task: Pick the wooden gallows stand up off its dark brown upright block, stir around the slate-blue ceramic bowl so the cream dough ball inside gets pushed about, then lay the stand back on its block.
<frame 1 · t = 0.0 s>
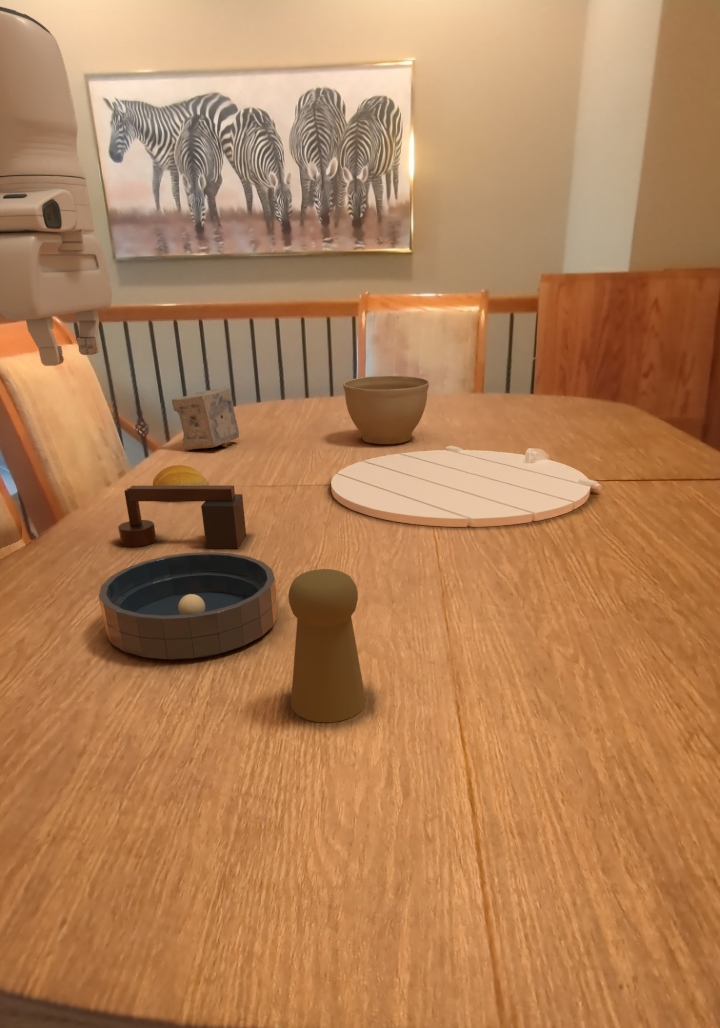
hand: (72, 359, 82), 23 cm above the table, tool pointing down, fingers open, 8 cm apart
lazy susan: (460, 487, 117), on the table
dough ball: (191, 607, 74), point 2 cm above the table, touching bowl
bowl: (194, 624, 74), on the table
dark brown upright block: (226, 541, 96), on the table
bread roll: (181, 494, 117), on the table
incense holder: (209, 447, 145), on the table
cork: (328, 704, 61), on the table
planter bowl: (386, 441, 147), on the table
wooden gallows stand: (138, 541, 97), on the table, touching dark brown upright block
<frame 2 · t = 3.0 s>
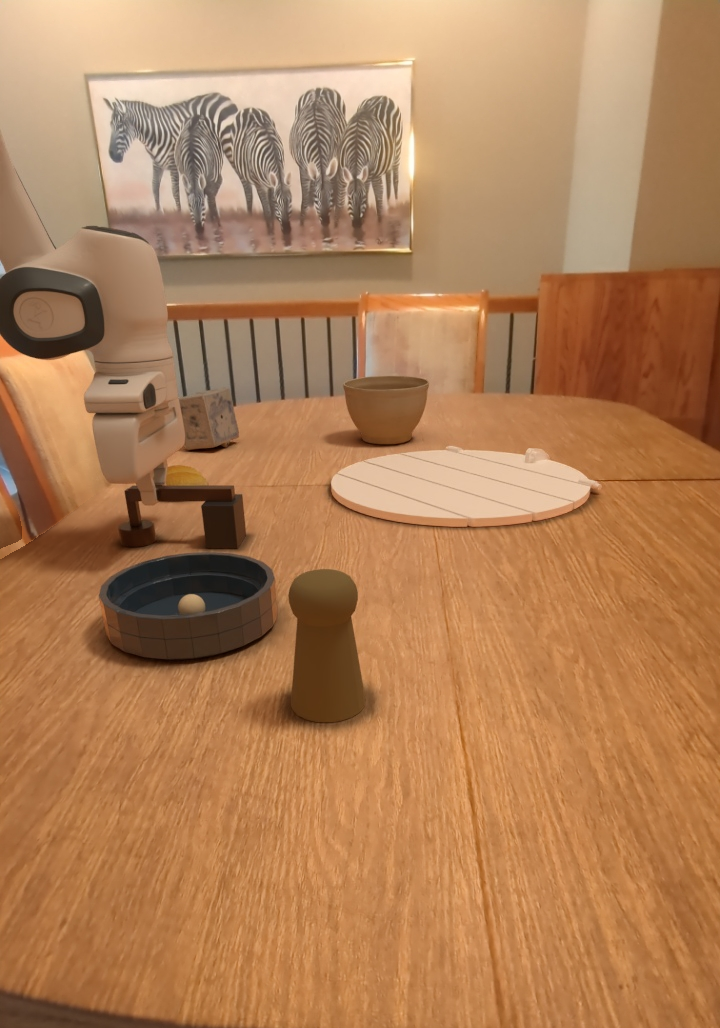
hand: (155, 500, 94), 5 cm above the table, tool pointing down, fingers closed on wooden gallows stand, 2 cm apart
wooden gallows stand: (138, 541, 97), on the table, touching gripper, dark brown upright block
everything else where it was.
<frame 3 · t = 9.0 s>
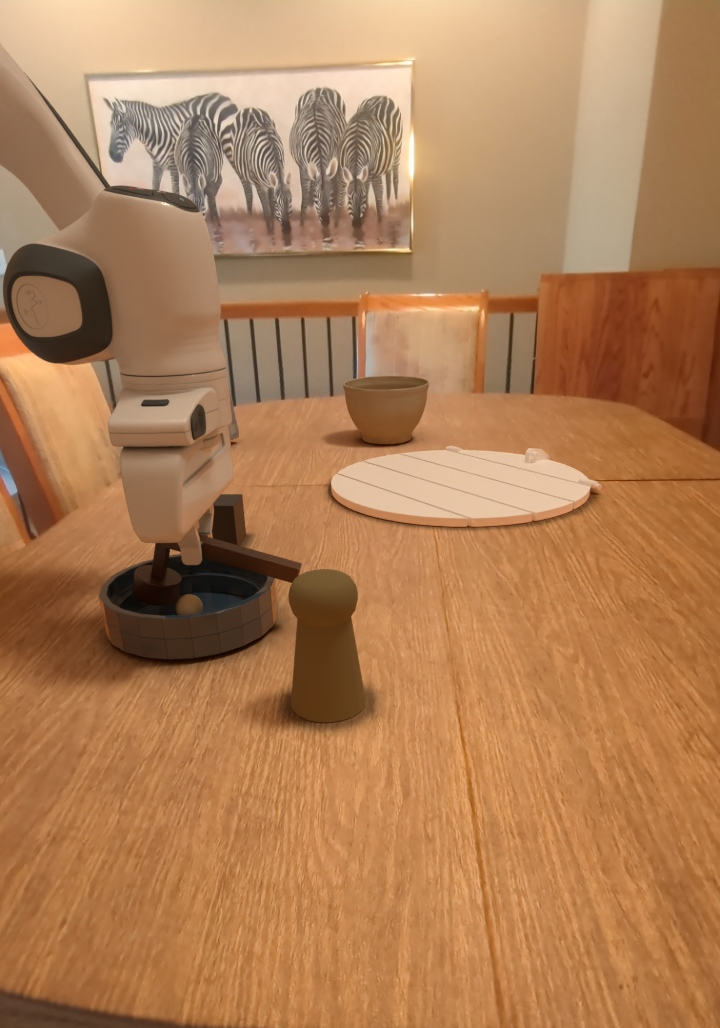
hand: (198, 556, 71), 7 cm above the table, tool pointing down, fingers closed on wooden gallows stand, 2 cm apart
dough ball: (189, 607, 74), point 2 cm above the table, tilted 10°, touching bowl, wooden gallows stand
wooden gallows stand: (155, 595, 73), point 3 cm above the table, tilted 16°, touching dough ball, gripper
everything else where it was.
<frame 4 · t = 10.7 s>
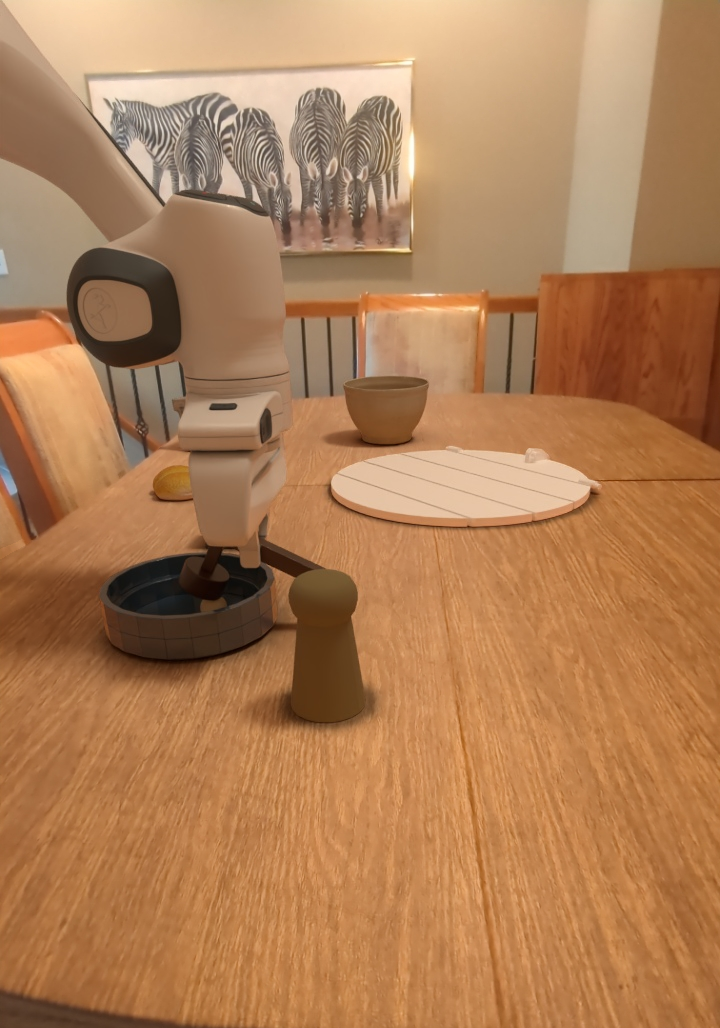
hand: (255, 559, 71), 7 cm above the table, tool pointing down, fingers closed on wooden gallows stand, 2 cm apart
dough ball: (213, 607, 74), point 2 cm above the table, tilted 96°, touching bowl, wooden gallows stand
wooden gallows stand: (200, 587, 73), point 4 cm above the table, tilted 27°, touching dough ball, gripper
everything else where it was.
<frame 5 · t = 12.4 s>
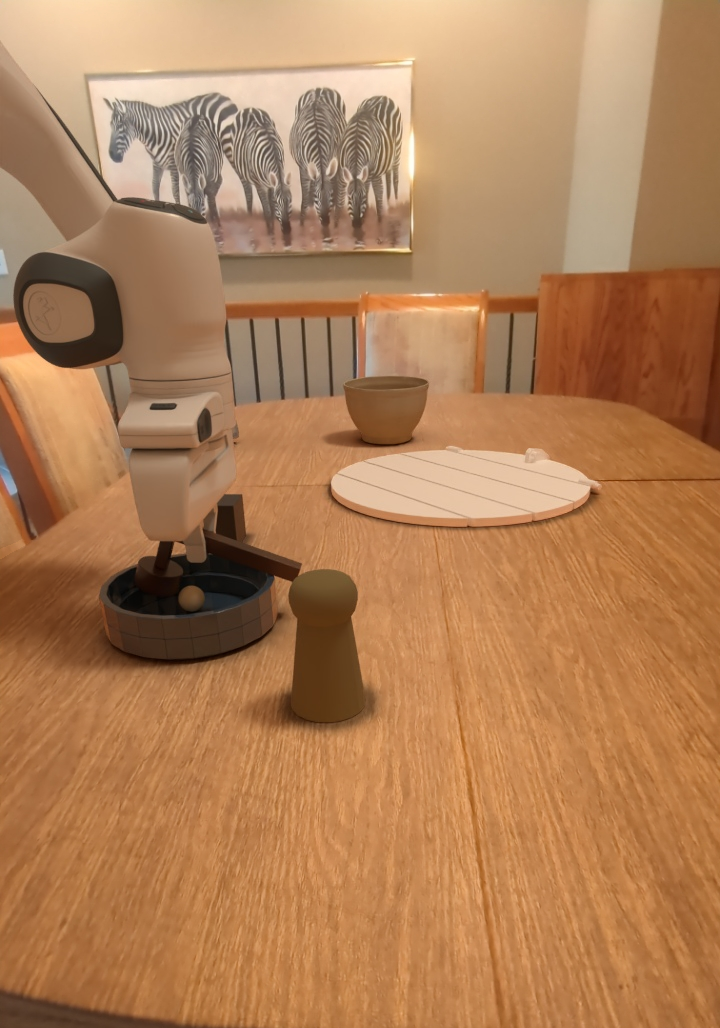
hand: (202, 554, 73), 6 cm above the table, tool pointing down, fingers closed on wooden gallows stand, 2 cm apart
dough ball: (191, 598, 76), point 2 cm above the table, tilted 55°, touching bowl
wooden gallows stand: (156, 585, 75), point 3 cm above the table, tilted 21°, touching gripper
everything else where it was.
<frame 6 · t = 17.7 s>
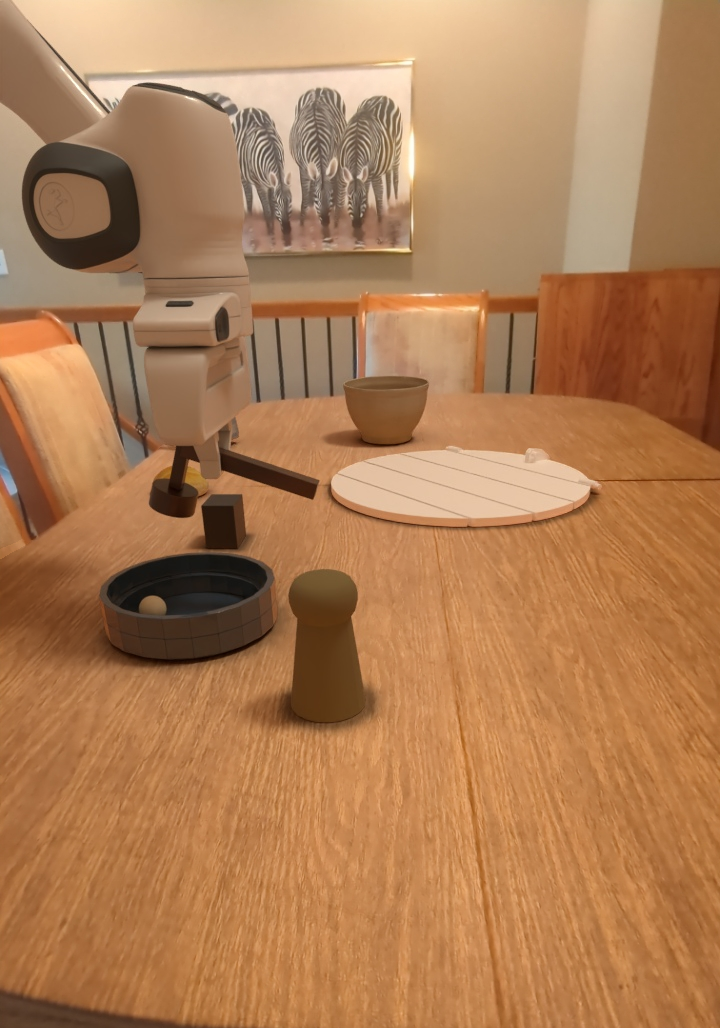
hand: (216, 473, 71), 14 cm above the table, tool pointing down, fingers closed on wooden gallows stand
dough ball: (152, 609, 73), point 2 cm above the table, tilted 124°, touching bowl
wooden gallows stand: (171, 508, 73), point 11 cm above the table, tilted 19°, touching gripper
everything else where it was.
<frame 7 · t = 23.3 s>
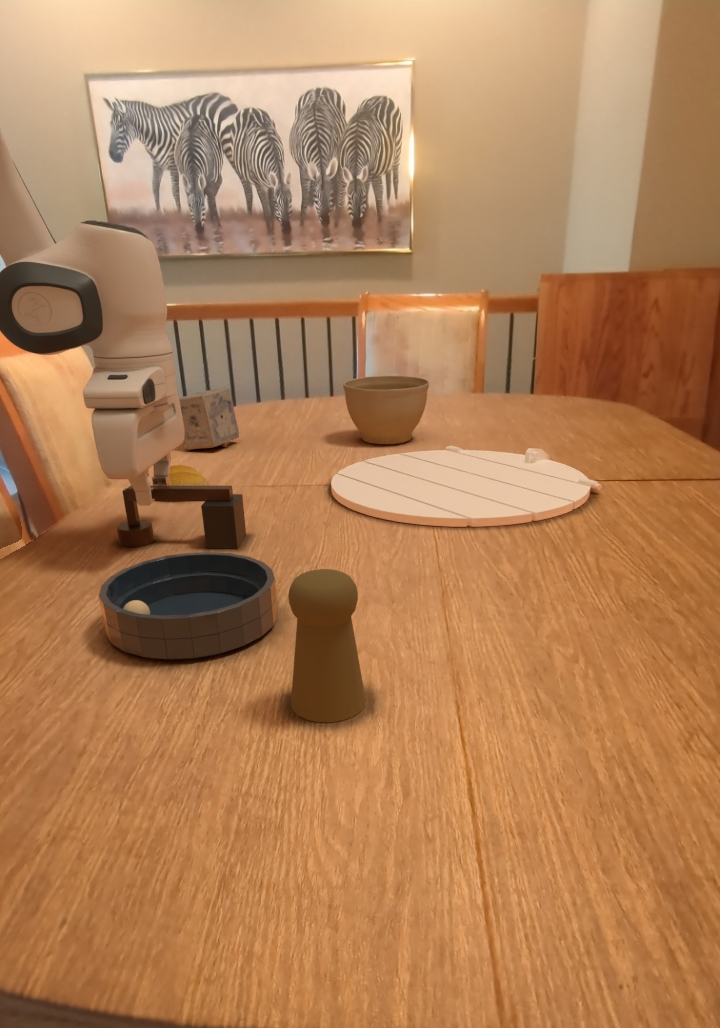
hand: (154, 496, 94), 6 cm above the table, tool pointing down, fingers open, 5 cm apart
dough ball: (136, 613, 73), point 2 cm above the table, tilted 124°, touching bowl
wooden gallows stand: (137, 541, 97), on the table, touching dark brown upright block
everything else where it was.
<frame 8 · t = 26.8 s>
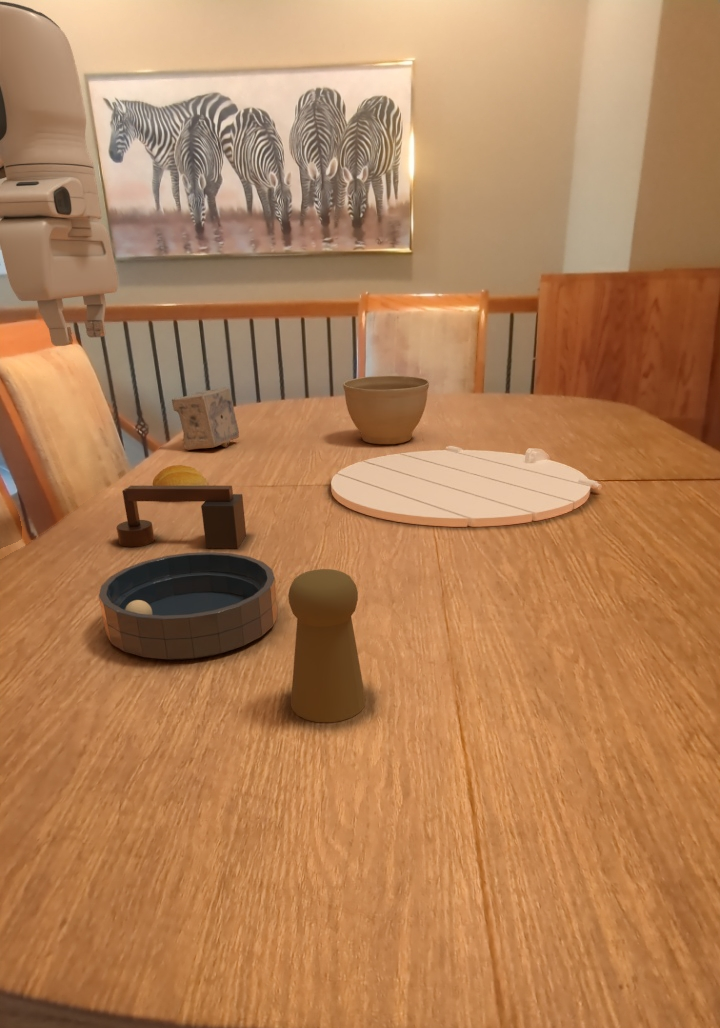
hand: (80, 340, 86), 24 cm above the table, tool pointing down, fingers open, 8 cm apart
nothing on the table moved.
at the end: dough ball moved 5.1 cm from its start; dough ball inside the target area in the bowl (5.0 cm from its centre), point 1.8 cm above the bowl's base; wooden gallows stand inside the target area (0.2 cm from its centre), on the table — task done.
